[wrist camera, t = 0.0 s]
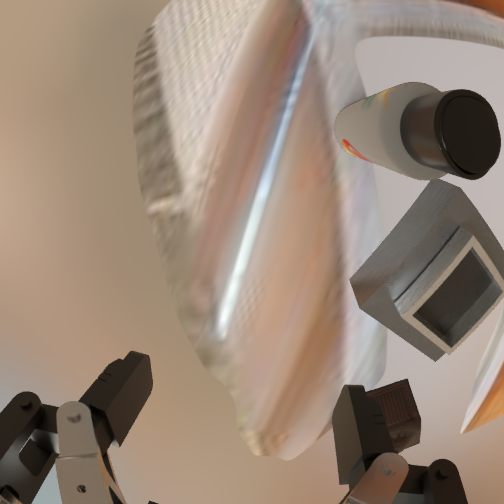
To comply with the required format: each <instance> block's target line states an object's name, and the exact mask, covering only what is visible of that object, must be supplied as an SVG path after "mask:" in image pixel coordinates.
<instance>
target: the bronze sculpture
mask: <svg viewBox="0 0 504 504" xmlns="http://www.w3.org/2000/svg"><path fill="white" fill-rule="evenodd" d="M366 395H367V397H374V399H375V400H376V401H377V402H378V403H379V404H380V406H381V409H382V412H383V417H384V418H385V421H386V424H387V427H388V430H389V434H390V437H391V440H392V444H393V447H394V450H395V453H396V454H398V453H400V452H401V451H403V450H404V449H406V448H409V447H411V446H414V445H416V444H419V443H420V434H421V417H420V415H419V412H418V409H417V406H416V403H415V400H414V397H413V394H412V391H411V388H410V385H409V382H408V379H404V380H401V381H398V382H395V383H392V384H389V385H386V386H383V387H380V388H377V389H374V390H371V391H368V392H366Z"/></svg>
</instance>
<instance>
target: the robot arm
mask: <svg viewBox="0 0 504 504" xmlns="http://www.w3.org/2000/svg"><path fill="white" fill-rule="evenodd" d="M152 387H153V379H152V372H151V364H150V357H149V355H146V354H143V353H139V352H135V351H130V352H129V353H128V355H127V356H126V357H125V358H124V360H122V359H117V360H115V361H114V362H112V363H110V364H109V365H108V366H107V367H106V369H105V370H104V371H103V373H101V374H100V375H99V377H98V379H96V380H95V382H94V383H93V384H92V385H91V386H90V388H89V389H88V390H87V391H86V392H85V394H84V395H83V396H82V397H81V398H80V400H79V401H78V402H77V401H71V402H66V403H64V404H63V405H61V406H60V407H56V406H51V405H46V404H42V403H41V401H40V399H39V397H38V396H37V395H36V394H35V393H33V392H22V393H19V394H17V395H16V396H15V397H14V398H13V399H12V401H10V403H9V404H8V405H7V406H6V407H5V408H4V409H3V411H2V412H1V413H0V504H31V503H32V502H33V500H34V498H35V496H36V494H37V493H38V491H39V489H40V487H41V485H42V484H43V482H44V480H45V478H46V477H47V475H48V473H49V471H50V470H51V468H52V466H53V464H54V463H55V464H56V471H57V478H58V483H59V489H60V494H61V498H62V503H63V504H127V503H126V501H125V499H124V497H123V495H122V493H121V490H120V488H119V486H118V483H117V480H116V477H115V474H114V470H113V467H112V464H111V460H110V457H109V453H108V448H109V446H110V445H111V444H112V445H115V446H117V447H120V446H121V445H122V443H123V441H124V439H125V437H126V436H127V434H128V432H129V430H130V429H131V427H132V425H133V423H134V422H135V420H136V418H137V416H138V415H139V413H140V411H141V409H142V408H143V406H144V404H145V402H146V401H147V399H148V397H149V396H150V394H151V391H152ZM332 424H333V432H334V439H335V448H336V456H337V464H338V474H339V484H340V485H342V484H349V491H348V492H347V494H346V495H345V496H344V498H343V499H342V500H341V501H340V503H339V504H468V502H467V499H466V495H465V491H464V488H463V485H462V482H461V478H460V475H459V472H458V469H457V467H456V465H455V464H453V462H451V461H449V460H447V459H439V460H436V461H434V462H433V463H432V464H431V465H430V466H429V467H426V466H417V465H410V464H408V463H407V461H406V460H405V459H404V458H403V457H402V456H401V455H399V454H396V453H395V450H394V447H393V444H392V440H391V437H390V434H389V430H388V427H387V424H386V421H385V418H384V417H383V412H382V409H381V406H380V404H379V403H378V402H377V401H376V400H375V399H374V397H367V395H366V392H365V388H364V386H363V385H344V387H343V389H342V391H341V394H340V396H339V399H338V401H337V403H336V406H335V408H334V411H333V416H332ZM29 437H30V439H29V440H28V438H29ZM27 440H28V442H27V443H26V445H25V446H24V444H25V442H26V441H27ZM23 446H24V447H23ZM22 447H23V449H22V450H21V448H22ZM20 450H21V452H20ZM19 452H20V453H19ZM59 455H60V457H58V456H59ZM148 504H158V503H155V502H151V501H149V503H148Z"/></svg>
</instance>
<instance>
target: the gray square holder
mask: <svg viewBox="0 0 504 504" xmlns="http://www.w3.org/2000/svg"><path fill="white" fill-rule="evenodd" d="M350 283H351V286H352V288H353V291H354V294H355V297H356V300H357V303H358V305H359V308H360V309H361V310H363V311H364V312H366V313H367V314H368V315H370V316H371V317H373V318H374V319H376V320H377V321H379V322H380V323H381V324H383V325H384V326H386V327H387V328H388V329H390V330H392V331H393V332H394V333H396V334H397V335H399V336H400V337H401V338H403V339H404V340H406V341H407V342H408V343H410V344H411V345H413V346H414V347H415V348H417V349H418V350H420V351H421V352H422V353H424V354H425V355H427V356H428V357H430V358H431V359H433V360H434V361H435V362H436V361H437V360H438V359H439V358H440V357H442V356H443V355H444V354H445V353H447V354H448V355H450V354H451V353H452V352H453V351H454V350H455V349H456V348H457V347H458V346H459V345H460V344H461V343H462V342H463V341H464V340H465V339H466V338H467V337H468V336H469V335H470V334H471V333H472V332H473V331H474V330H475V329H476V328H477V327H478V326H479V325H480V324H481V323H482V321H484V319H485V318H486V317H487V316H488V315H489V314H490V313H491V311H492V310H493V309H494V308H495V307H496V306H497V305H498V303H499V302H500V301H501V299H502V298H503V297H504V250H503V249H502V247H501V245H500V244H499V242H498V240H497V239H496V237H495V236H494V234H493V233H492V231H491V229H490V228H489V226H488V225H487V224H486V222H485V220H484V219H483V218H482V216H481V215H480V213H479V212H478V210H477V209H476V208H475V206H474V205H473V204H472V202H471V201H470V200H469V198H468V197H467V196H466V194H465V193H464V192H463V190H462V189H461V188H460V187H457V186H455V185H453V184H450V183H448V182H445V181H443V180H440V179H434V180H431V181H430V182H429V184H428V185H427V186H426V188H425V189H424V190H423V192H422V193H421V194H420V196H419V197H418V198H417V200H416V201H415V202H414V204H413V205H412V206H411V208H410V209H409V210H408V211H407V213H406V214H405V215H404V216H403V218H402V219H401V220H400V221H399V223H398V224H397V225H396V226H395V228H394V229H393V230H392V231H391V233H390V234H389V235H388V236H387V237H386V238H385V240H384V241H383V242H382V243H381V244H380V246H379V247H378V248H377V249H376V250H375V251H374V253H373V254H372V255H371V256H370V257H369V258H368V260H367V261H366V262H365V263H364V264H363V265H362V266H361V267H360V269H359V270H358V271H357V272H356V273H355V274H354V275H353V276H352V277H351V279H350Z"/></svg>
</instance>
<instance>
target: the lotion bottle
mask: <svg viewBox="0 0 504 504" xmlns="http://www.w3.org/2000/svg"><path fill="white" fill-rule="evenodd" d="M334 132H335V136H336V139H337V141H338V143H339V145H340V146H341V147H342V148H343V149H344V150H345V151H346V152H348V153H349V154H351V155H353V156H355V157H358V158H361V159H364V160H366V161H369V162H372V163H375V164H378V165H380V166H383V167H385V168H388V169H390V170H393V171H396V172H398V173H400V174H403V175H405V176H408V177H411V178H414V179H418V180H434V179H438V178H440V177H442V176H444V175H446V174H447V173H449V174H452V175H456V176H459V177H462V178H465V179H469V180H476V179H479V178H481V177H483V176H484V175H485V174H486V173H487V172H488V171H489V169H490V168H491V167H492V166H493V165H494V164H495V162H496V160H497V159H498V156H499V153H500V147H501V137H500V131H499V127H498V122H497V118H496V115H495V113H494V111H493V109H492V107H491V105H490V104H489V103H488V102H487V101H486V99H485V98H483V97H482V96H481V95H479V94H478V93H476V92H473V91H470V90H465V89H460V90H459V89H458V90H451V91H445V92H440V91H439V90H438V89H436V88H434V87H433V86H430V85H427V84H425V83H418V82H409V83H403V84H400V85H397V86H394V87H392V88H389V89H386V90H384V91H382V92H379V93H377V94H374V95H372V96H369V97H367V98H365V99H362V100H360V101H358V102H356V103H353V104H351V105H349V106H347V107H346V108H344V109H343V110H342V111H341V112H340V113H339V114H338V116H337V118H336V120H335V125H334Z"/></svg>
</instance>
